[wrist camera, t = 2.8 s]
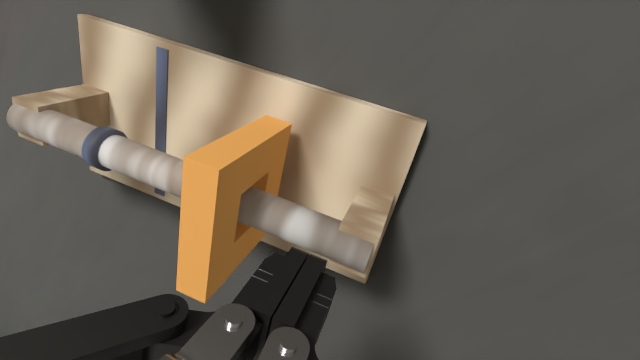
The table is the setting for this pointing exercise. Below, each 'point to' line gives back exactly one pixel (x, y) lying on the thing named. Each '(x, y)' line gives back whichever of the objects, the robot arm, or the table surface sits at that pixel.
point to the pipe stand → (221, 119)
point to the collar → (225, 202)
